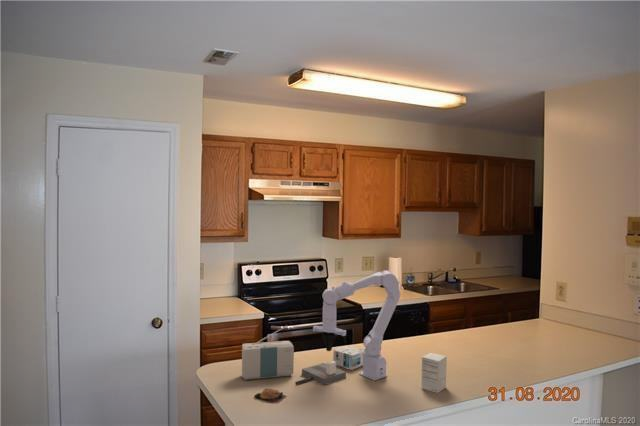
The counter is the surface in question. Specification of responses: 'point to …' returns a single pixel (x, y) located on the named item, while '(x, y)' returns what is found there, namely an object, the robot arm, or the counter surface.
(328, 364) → the breaker toggle
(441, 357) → the supplement box
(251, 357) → the stereo radio cassette player
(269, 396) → the bread roll
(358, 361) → the light bulb box
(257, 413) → the counter surface
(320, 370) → the box
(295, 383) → the power cord
